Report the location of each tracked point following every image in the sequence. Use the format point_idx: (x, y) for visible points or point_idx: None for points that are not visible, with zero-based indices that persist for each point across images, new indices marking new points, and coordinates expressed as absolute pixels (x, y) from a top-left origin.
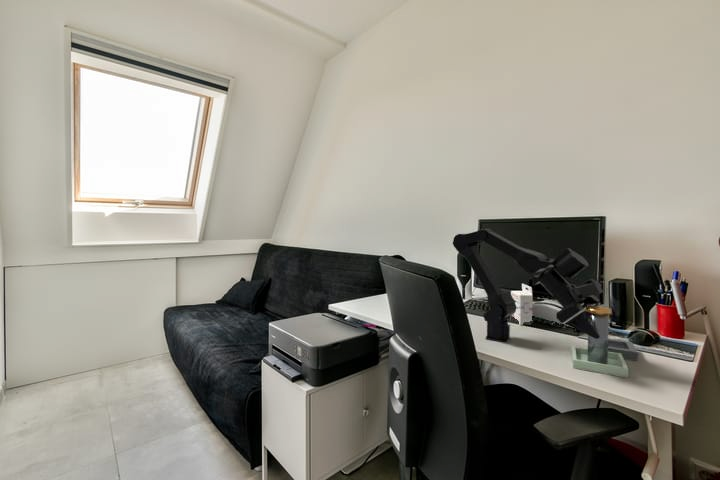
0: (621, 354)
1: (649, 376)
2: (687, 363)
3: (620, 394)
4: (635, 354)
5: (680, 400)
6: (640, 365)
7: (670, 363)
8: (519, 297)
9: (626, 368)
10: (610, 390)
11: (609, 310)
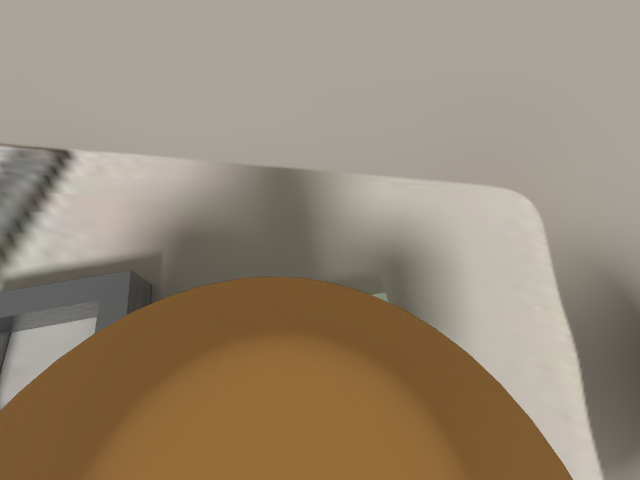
0: None
1: (307, 247)
2: (97, 161)
3: (556, 313)
4: (137, 281)
5: (443, 186)
6: (201, 273)
7: (122, 197)
8: None
9: (383, 298)
10: (555, 345)
11: (371, 306)
